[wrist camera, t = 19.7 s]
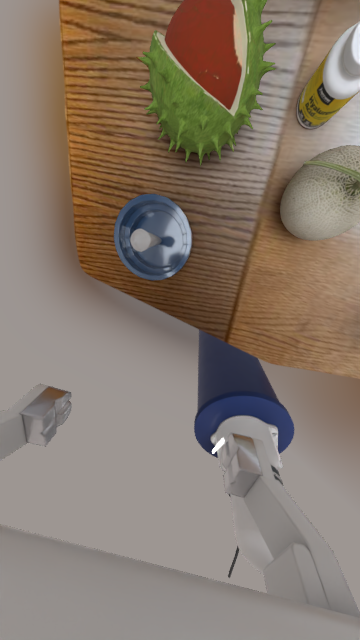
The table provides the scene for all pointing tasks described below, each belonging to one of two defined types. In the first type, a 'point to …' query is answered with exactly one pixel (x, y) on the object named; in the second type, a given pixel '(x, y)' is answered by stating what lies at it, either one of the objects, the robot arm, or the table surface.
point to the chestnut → (207, 72)
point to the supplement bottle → (332, 81)
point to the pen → (143, 240)
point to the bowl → (161, 222)
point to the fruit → (324, 195)
